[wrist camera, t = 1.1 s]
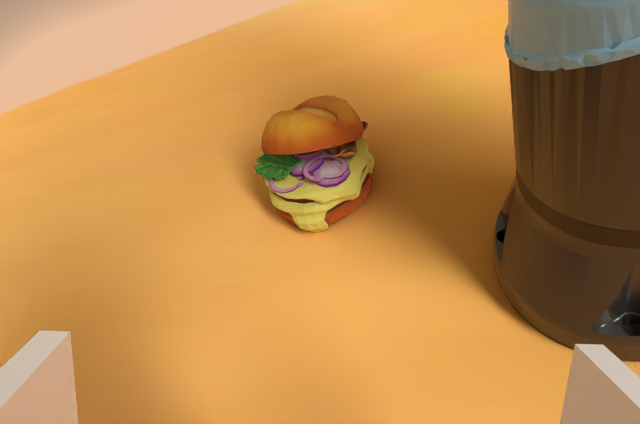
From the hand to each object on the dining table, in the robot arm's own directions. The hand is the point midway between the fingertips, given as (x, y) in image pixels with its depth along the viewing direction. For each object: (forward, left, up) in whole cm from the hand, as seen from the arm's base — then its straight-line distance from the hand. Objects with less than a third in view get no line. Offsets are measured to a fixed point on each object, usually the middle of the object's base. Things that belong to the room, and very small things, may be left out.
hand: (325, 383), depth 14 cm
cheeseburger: (-11, -28, -20) cm, 36 cm away
